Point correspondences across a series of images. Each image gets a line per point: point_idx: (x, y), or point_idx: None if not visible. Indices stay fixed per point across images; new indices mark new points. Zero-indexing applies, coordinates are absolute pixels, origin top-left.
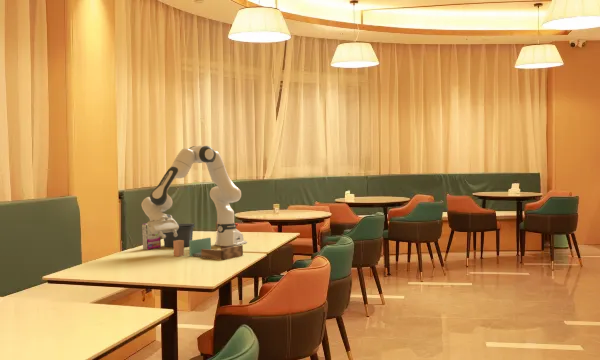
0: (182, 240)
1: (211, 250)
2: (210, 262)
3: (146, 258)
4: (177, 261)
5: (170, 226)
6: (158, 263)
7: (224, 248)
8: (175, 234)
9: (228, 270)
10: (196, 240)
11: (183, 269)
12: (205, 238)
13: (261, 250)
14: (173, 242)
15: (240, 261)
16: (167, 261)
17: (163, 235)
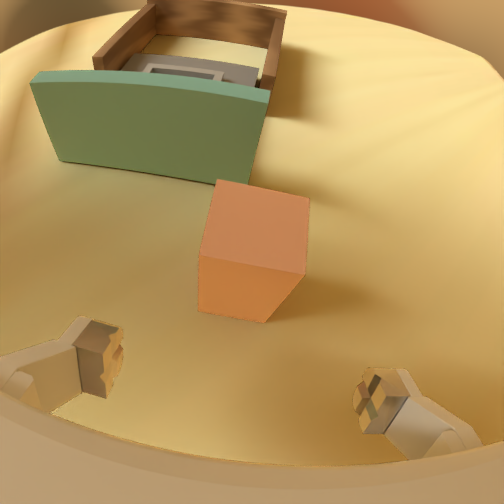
0: (235, 184)
1: (280, 43)
2: (348, 66)
3: None
4: (412, 179)
5: (53, 491)
6: (485, 237)
7: (264, 8)
8: (112, 339)
9: (401, 34)
10: (197, 81)
11: (470, 112)
12: (83, 72)
13: (24, 45)
14: (298, 282)
15: None
16: (440, 226)
17: (415, 389)
